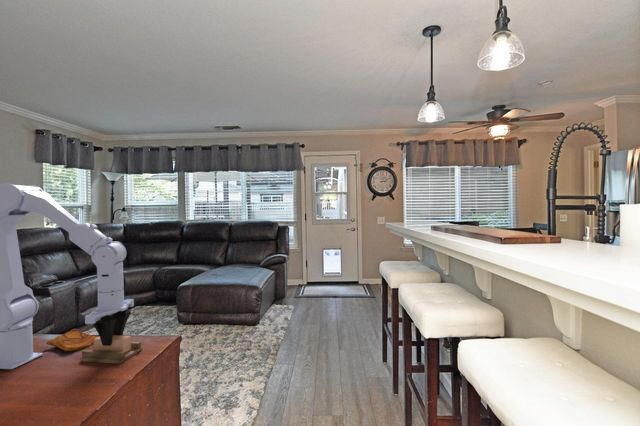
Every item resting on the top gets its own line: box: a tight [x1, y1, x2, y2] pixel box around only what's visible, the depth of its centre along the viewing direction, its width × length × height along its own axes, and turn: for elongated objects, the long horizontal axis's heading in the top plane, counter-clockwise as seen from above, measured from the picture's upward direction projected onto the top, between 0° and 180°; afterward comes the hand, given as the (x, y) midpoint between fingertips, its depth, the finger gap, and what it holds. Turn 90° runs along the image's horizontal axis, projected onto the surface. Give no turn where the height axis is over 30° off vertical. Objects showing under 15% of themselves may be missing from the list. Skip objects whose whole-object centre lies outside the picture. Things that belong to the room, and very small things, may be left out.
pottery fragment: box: [45, 328, 98, 352], centre depth 94 cm, size 10×5×10 cm
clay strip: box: [93, 334, 132, 353], centre depth 88 cm, size 8×3×4 cm, turn 82°
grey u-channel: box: [80, 340, 143, 364], centre depth 88 cm, size 11×8×2 cm
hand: (112, 342), depth 88 cm, fingers closed on clay strip, 3 cm apart
